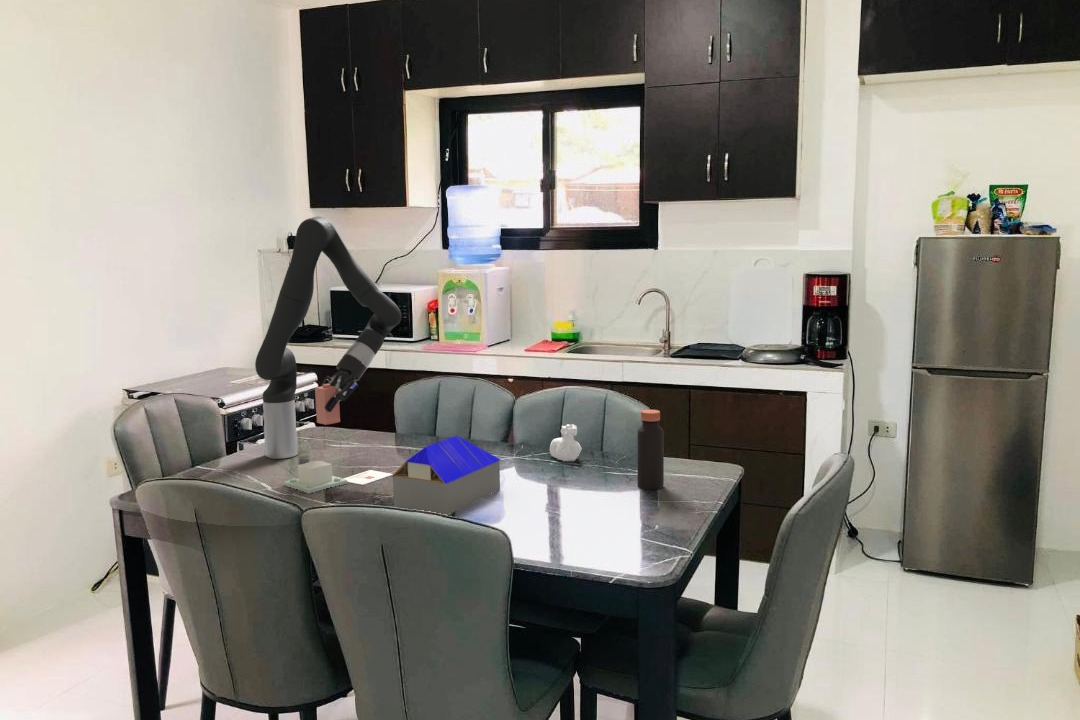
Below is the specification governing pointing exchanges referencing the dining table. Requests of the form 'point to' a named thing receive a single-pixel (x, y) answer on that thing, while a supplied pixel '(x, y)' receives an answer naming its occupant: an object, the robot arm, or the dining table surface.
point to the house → (446, 477)
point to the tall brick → (322, 399)
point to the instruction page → (367, 477)
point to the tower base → (314, 487)
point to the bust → (566, 444)
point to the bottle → (650, 451)
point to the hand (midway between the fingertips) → (322, 408)
